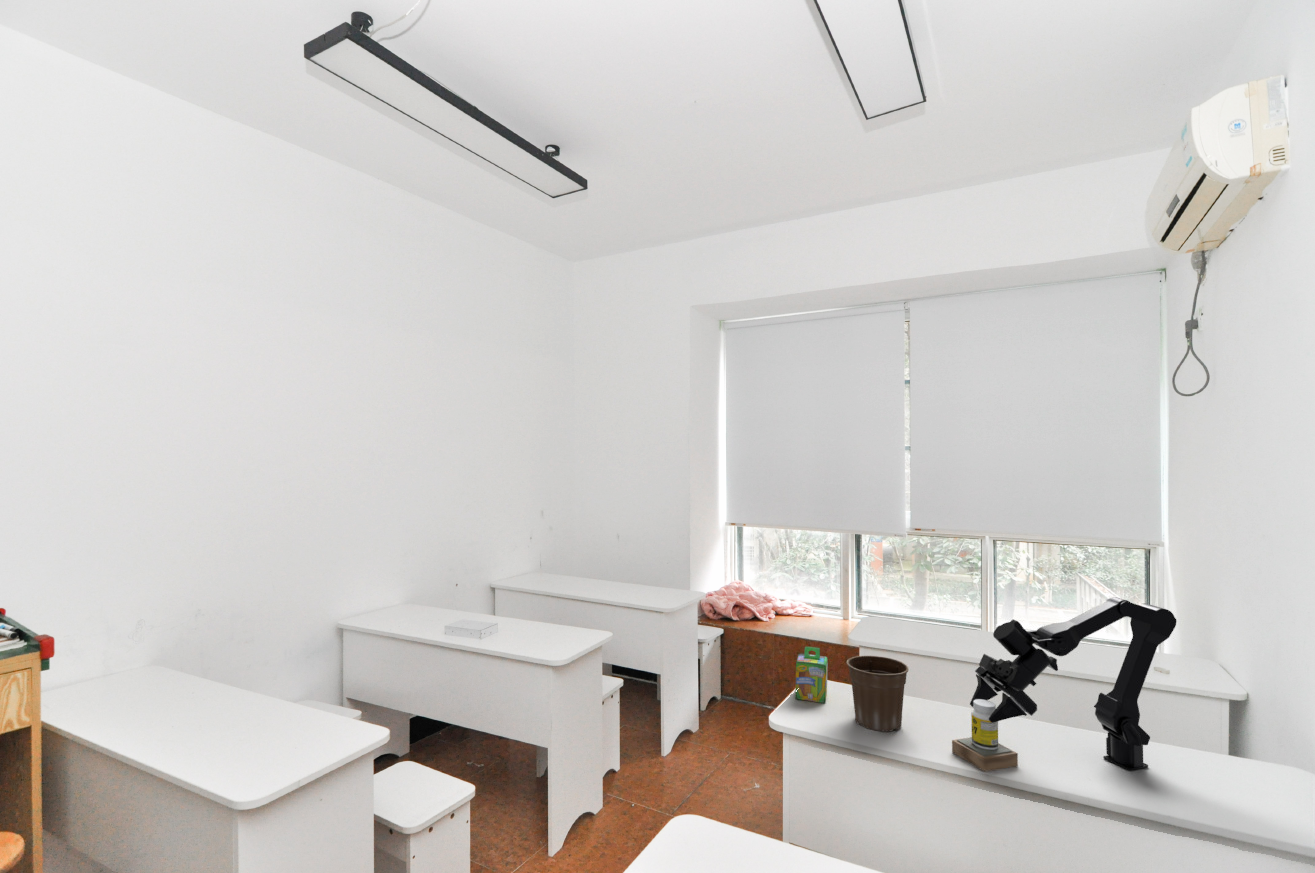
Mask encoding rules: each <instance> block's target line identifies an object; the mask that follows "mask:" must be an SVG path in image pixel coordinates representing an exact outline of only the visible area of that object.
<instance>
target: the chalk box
mask: <svg viewBox="0 0 1315 873" xmlns="http://www.w3.org/2000/svg"><path fill="white" fill-rule="evenodd" d="M811 651H812V652H815V654H810V653H809V652H811ZM828 660H829V658H828V657H827V656H823V655H821V649H820V647H817V646H816V647H815V646H804V652H803V653H798V656H797V660H796V661H795V662H796V663H795V691H796V690H797V689H798V688H799V689H798V690H797V692H795V694H794V698H795V700H801V701H808V702H809V701H810V702H814V703H820V704H826V703H827V696H828V695H827V694H828Z"/></svg>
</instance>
